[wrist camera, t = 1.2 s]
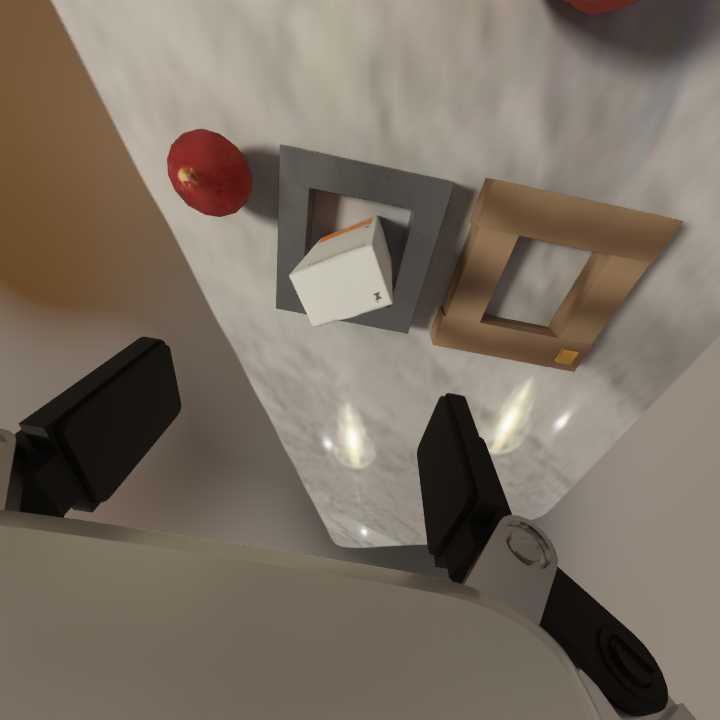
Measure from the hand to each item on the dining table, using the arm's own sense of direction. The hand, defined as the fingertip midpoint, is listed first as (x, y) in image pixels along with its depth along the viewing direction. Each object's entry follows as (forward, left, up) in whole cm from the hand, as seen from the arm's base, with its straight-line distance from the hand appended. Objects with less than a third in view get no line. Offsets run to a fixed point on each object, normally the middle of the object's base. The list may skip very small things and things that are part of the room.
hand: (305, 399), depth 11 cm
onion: (-4, -12, -23) cm, 26 cm away
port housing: (0, +18, -23) cm, 29 cm away
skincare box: (0, 0, -23) cm, 23 cm away
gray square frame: (0, 0, -23) cm, 23 cm away
